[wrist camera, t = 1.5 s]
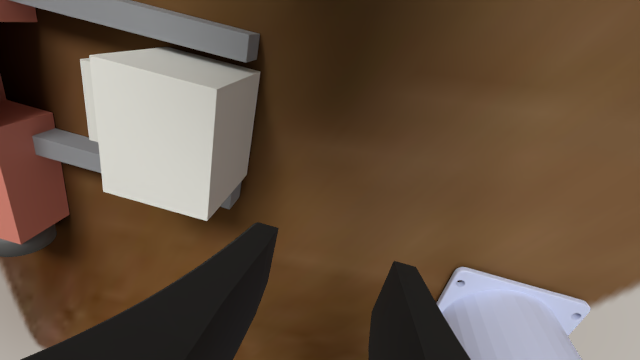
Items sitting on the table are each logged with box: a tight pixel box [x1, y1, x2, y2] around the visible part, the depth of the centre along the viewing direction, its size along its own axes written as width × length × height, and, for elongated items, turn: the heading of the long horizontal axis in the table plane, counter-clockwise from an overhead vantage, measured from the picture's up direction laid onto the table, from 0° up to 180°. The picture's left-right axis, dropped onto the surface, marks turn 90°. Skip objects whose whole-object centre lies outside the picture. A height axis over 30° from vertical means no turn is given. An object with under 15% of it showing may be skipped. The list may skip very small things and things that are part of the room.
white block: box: [80, 47, 261, 221], centre depth 16 cm, size 6×8×5 cm
